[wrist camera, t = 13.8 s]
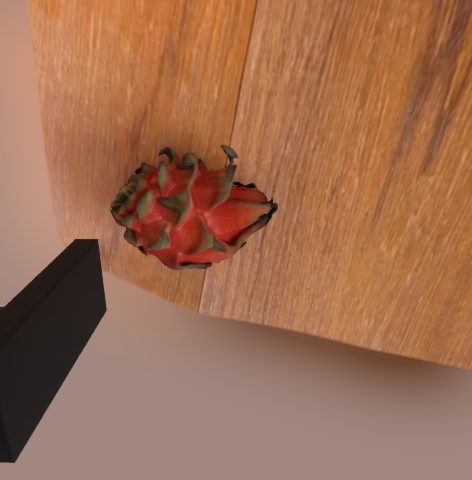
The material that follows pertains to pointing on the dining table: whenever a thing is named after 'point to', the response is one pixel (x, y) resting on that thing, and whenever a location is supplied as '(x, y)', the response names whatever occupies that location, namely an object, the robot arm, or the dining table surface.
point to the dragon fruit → (189, 211)
